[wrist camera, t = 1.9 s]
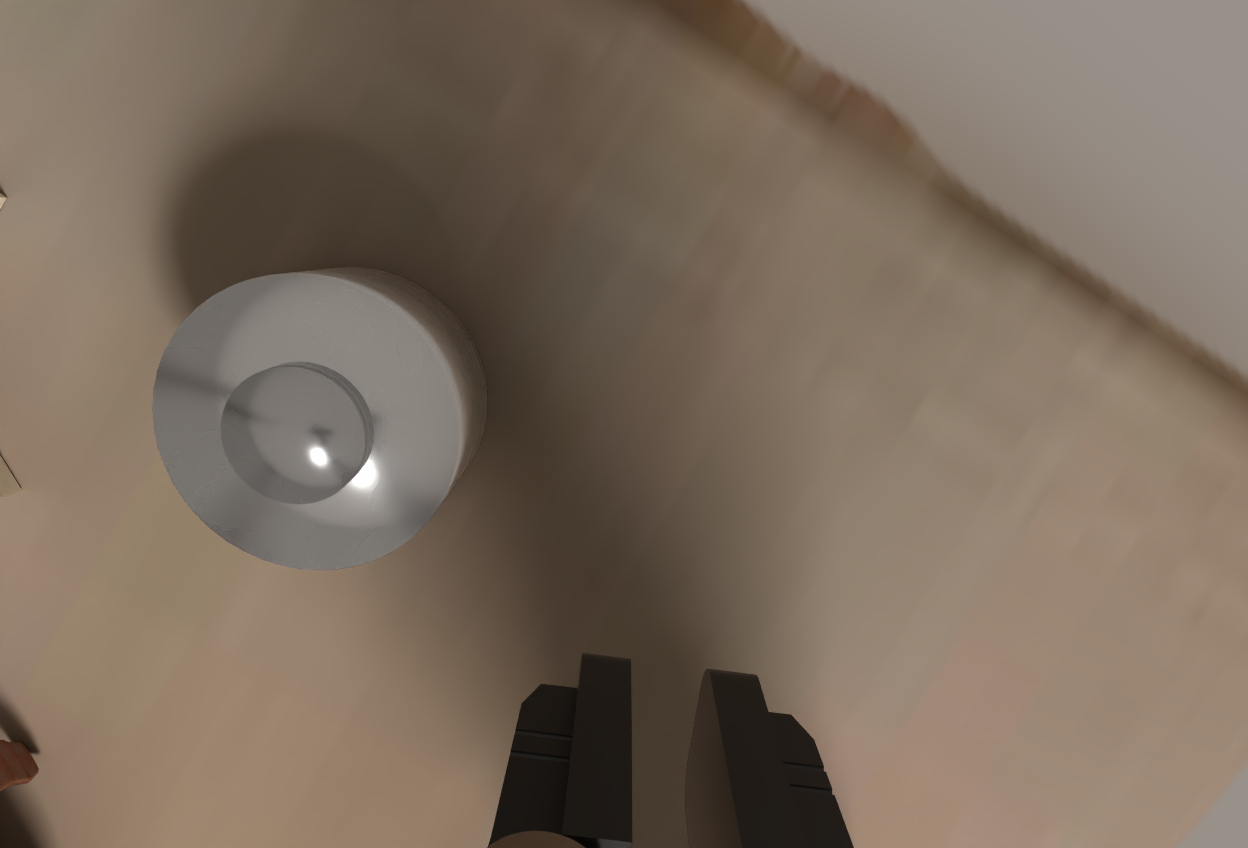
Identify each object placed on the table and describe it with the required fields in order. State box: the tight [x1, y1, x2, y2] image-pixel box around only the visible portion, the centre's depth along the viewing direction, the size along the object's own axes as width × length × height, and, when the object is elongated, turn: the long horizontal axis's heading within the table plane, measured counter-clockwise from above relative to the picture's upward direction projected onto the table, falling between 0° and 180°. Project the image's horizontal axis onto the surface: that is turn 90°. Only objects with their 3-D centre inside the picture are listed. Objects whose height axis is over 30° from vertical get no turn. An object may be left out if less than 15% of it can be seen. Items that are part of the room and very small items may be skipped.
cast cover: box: [152, 267, 488, 570], centre depth 25 cm, size 9×9×6 cm
